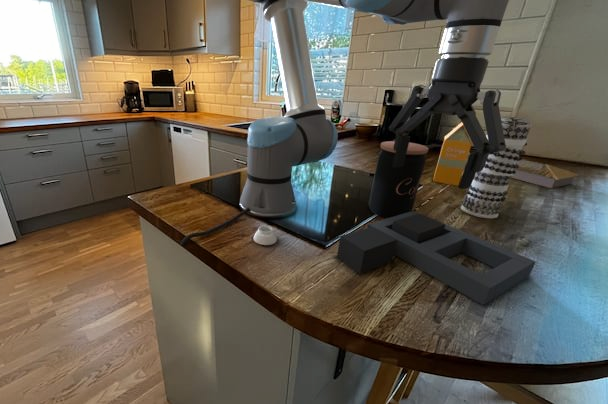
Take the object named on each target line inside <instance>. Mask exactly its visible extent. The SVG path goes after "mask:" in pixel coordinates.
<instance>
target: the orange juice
mask: <svg viewBox="0 0 608 404" xmlns="http://www.w3.org/2000/svg"><path fill="white" fill-rule="evenodd" d="M443 138H444V139H443V143H442V145H441V149H440V154H439V157H438V160H437V164H436V168H435V171H434V175H433V180H432V181H433V182H435V183H440V184H444V185H445V184H446V185H452V186H458V187H459V184H460V181H461V178H462V175H463V172H464V169H465V166H466V165H465V164H466V160H467V157H468V154H469V153H470V151H471V147H472V145H473V143H472V141H471V139H470V137H469V135H468V133H467V131H466V129H465V127H464V125H463V123H462V121H461V122H460V123H459V124H458V125H457V126H455V127H454V128H453V129H452V130H451V131H450V132H448V133H447V134H446V135H444V137H443Z"/></svg>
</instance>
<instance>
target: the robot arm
mask: <svg viewBox="0 0 608 404" xmlns="http://www.w3.org/2000/svg"><path fill="white" fill-rule="evenodd" d="M248 1H249V2H253V3H257V4H261V6H262V12H263V17H264V19H265V20H266V21H267V22H269V23H270V24H271V30H272V35H273V41H274V46H275V52H276V57H277V58H276V59H277V64H278V69H279V75H280V80H281V87H282V92H283V97H284V103H285V104H284V105H285V109H286V112H285V114H284V115H283V116H280V115H279V116H268V117H267V116H266V117H262V118H259V119H256V120H254V121H253V122H251V123H250V125H249V127H248V129H247V131H248V132H247V138H246V143H247V156H246V157H247V162H246V163H247V164H246V165H247V166H246V181H245V184H244V186H243V190H242V192H241V194H240V198H239V208H240V210H241V212H239V213H237V214H236V215H235V216H233V217H232V218H230V219H227V220H226V221H224V222H222V223H220V224H218V225H216V226H214V227H212V228H209V229H207V230H204V231H197V232H192V233H189V234H188V235H186V236H185V237H184V238H183V239H182V240H181V241H180V243H179V245H180V246H184V245H185V244H186V243H187V242H188V241H189V240H191V239H192V238H195V237H202V236H207V235H210V234H212V233H214V232H216V231H219V230H220V229H222V228H225V227H226V226H228V225H230V224H231V223H234V222H235V221H237V220H238V219H240V218H241V217H243V215H245V214H246V215H249V216H251V217H254V218H259V219H268V220H269V219H270V220H272V219H273V220H275V219H282V218H287V217H289V216H291V215H293V214H294V213H295V212H296V209H297V200H296V195H295V192H294V187H293V184H292V175H293V168H294V167H296V166H302V165H307V164H313V163H318V162H321V161H323V160H325V159H328V158H329V157H330V156H331V155H332V154H333V152H334V150H335V149H336V147H337V144H338V139H339V134H338V129H337V126H336V124H335V123H334V122H332V120H330V119H329V118H327V113H326V109H325V108H324V107H323V106H321V105H320V104H319V101H318V94H317V89H316V83H315V76H314V71H313V65H312V60H311V52H310V46H309V40H308V34H307V28H306V22H305V17H304V12H305V11H306V10H307V8H308V4H309V3H315V4H319V5H326V6H331V7H336V8H342V9H347V10H350V11H355V12H357V13H363V14H364V13H366V14H371V15H375V16H380V17H381V18H382V21H383V22H384V23H385V24H387V25H401V26H403V25H407V24H414V23H422V22H423V23H424V22H432V21H443V20H444V21H445V20H446V23H445V27H444V31H443V35H442V39H441V43H440V47H439V51H438V55H439V56H441V57H440V58H438V59H437V60H436V62H435V65H434V69H433V71H432V72H433V73H432V76H431V85H430V86H429V87H427V86H425V85H415V86H413V87H412V90H411V92H410V96H409V98H408V99H407V100H406V102H405V104H404V105H403V107H402V108H401V109H400V111H399V112H398V114H396V116H395V117H394V119H393V121H392V122H391V123H390V125H389V127H388V131H389V132H392V133H394V134H395V139H394V141H395V143H394V147H393V149H394V150H395V151H396V152H395V157H394V161H393V165H392V167H394V168H397V167H402V166H403V165H404V161H405V157H406V153H407V149H408V145H409V143H410V141H411V136H410V135H409V134H410V133H411V132H412V131H413V130H414V129H415V128H417V127H418V126H419V125H420V124H421V123H423V122H424V121H425V120H426V119H428V118H429V117H430V116H431V115H433V114H440V115H441V114H445V115H446V116H457V118H458V119H459V120H460V121H461V122H462V123H463V125H464V127H465V129H466V131H467V133H468V135H469V137H470V139H471V142H472V145H473V148H474V149H475V150H474V151H471V152H470V151H469V153H470V155H469V158H468V160H467V163H466V165H465V167H464V169H463V172H462V175H461V179H460V182H459V185H458V187H457V188H458V189H461V190H465V189H469V188H468V187H471V184H472V181H473V179H474V176H475V173H476V172H480V171H482V170H483V168H484V165H485V163H486V160H487V158H488V155H489V154H490V153H493V152H500V151H504V150H505V149H506V144H505V138H504V133H503V127H502V122H501V117H502V116H501V110H500V106H499V104H500V100H501V96H502V92H501V90H496V89H494V90H493V89H492V90H491V89H490V90H487V91H481V85H482V83H483V81H484V78H485V75H486V71H487V68H488V65H489V62H490V61H489V59H487V57H488V56H491V55H492V54H493V51H494V48H495V45H496V41H497V39H498V35H499V32H500V28H501V25H502V22H503V19H504V15H505V13H506V10H507V7H508V4H509V1H510V0H248ZM308 2H309V3H308ZM426 97H427V99H428V101H427V102H426V103H425V104H424V105H423V106H421V108H420V110H418V111H417V112H416V113H414V112H415V111H416V109H417V108H418V106H419V105H421V104H420V103H421V102H422V101H423V99H425V98H426ZM478 100H479V103H480V105H482V113H483V118H484V125H485V131H486V133H485V131H484V129H483V127H482V125H481V123H480V121H479V119H478V117H477V112H476V110H475V108H474V106H473V105H474V103H476V102H478ZM413 113H414V114H413ZM412 115H413V116H412ZM411 116H412V117H411ZM486 135H487V136H488V139H487V137H486Z"/></svg>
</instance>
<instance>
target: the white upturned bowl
mask: <svg viewBox="0 0 608 404" xmlns="http://www.w3.org/2000/svg"><path fill="white" fill-rule="evenodd" d="M273 229H274V228H273V227H272V226H271V225H261V226H258V229H256V231H255V233H254V235H253V241H254V242H255V243H256V244H259V245H262V246H271V245H274V244H275V243H276V242H277V240H278V237H277V235H276V233H275V231H274V230H273Z"/></svg>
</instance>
